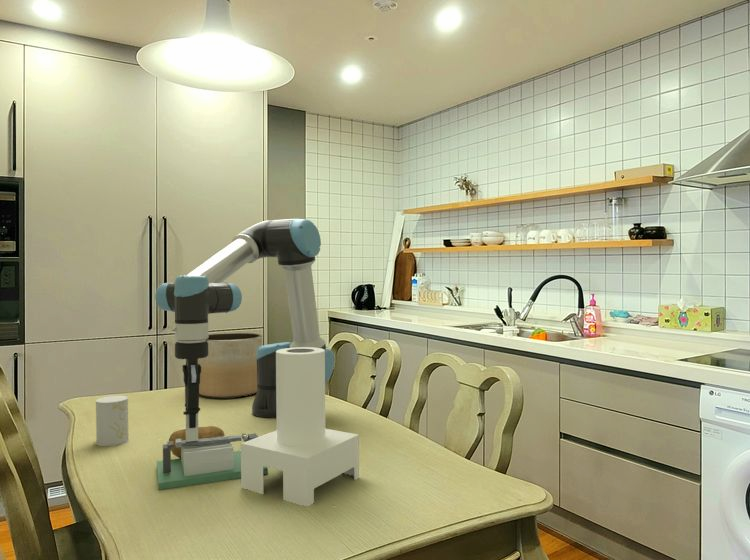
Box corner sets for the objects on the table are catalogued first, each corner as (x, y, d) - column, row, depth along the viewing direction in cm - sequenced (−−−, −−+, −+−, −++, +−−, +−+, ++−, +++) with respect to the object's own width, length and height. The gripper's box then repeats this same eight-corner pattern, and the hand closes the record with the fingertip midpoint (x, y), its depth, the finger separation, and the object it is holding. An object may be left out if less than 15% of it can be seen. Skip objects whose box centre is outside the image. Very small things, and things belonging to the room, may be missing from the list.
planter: (184, 398, 208) (183, 339, 208) (214, 384, 233) (214, 332, 233) (248, 401, 204) (247, 340, 203) (272, 386, 229) (272, 332, 228)
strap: (246, 438, 138) (246, 432, 138) (248, 441, 135) (248, 435, 135) (175, 444, 132) (175, 438, 132) (176, 448, 129) (176, 442, 129)
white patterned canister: (116, 446, 152) (115, 403, 152) (89, 445, 154) (89, 401, 153) (134, 438, 160) (134, 396, 160) (109, 436, 161) (108, 395, 161)
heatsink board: (255, 454, 145) (255, 424, 145) (267, 473, 131) (267, 440, 131) (157, 467, 136) (156, 435, 136) (158, 489, 122) (158, 454, 122)
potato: (230, 458, 142) (230, 426, 142) (174, 469, 134) (174, 436, 134) (217, 448, 150) (217, 418, 150) (163, 458, 142) (163, 427, 142)
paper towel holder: (307, 507, 113) (306, 360, 112) (241, 488, 123) (239, 352, 122) (359, 477, 129) (358, 348, 128) (296, 462, 139) (295, 342, 138)
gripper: (173, 338, 136) (173, 434, 136) (176, 344, 124) (176, 450, 124) (205, 337, 139) (205, 431, 139) (211, 343, 127) (211, 446, 127)
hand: (192, 440), depth 132 cm, fingers closed
